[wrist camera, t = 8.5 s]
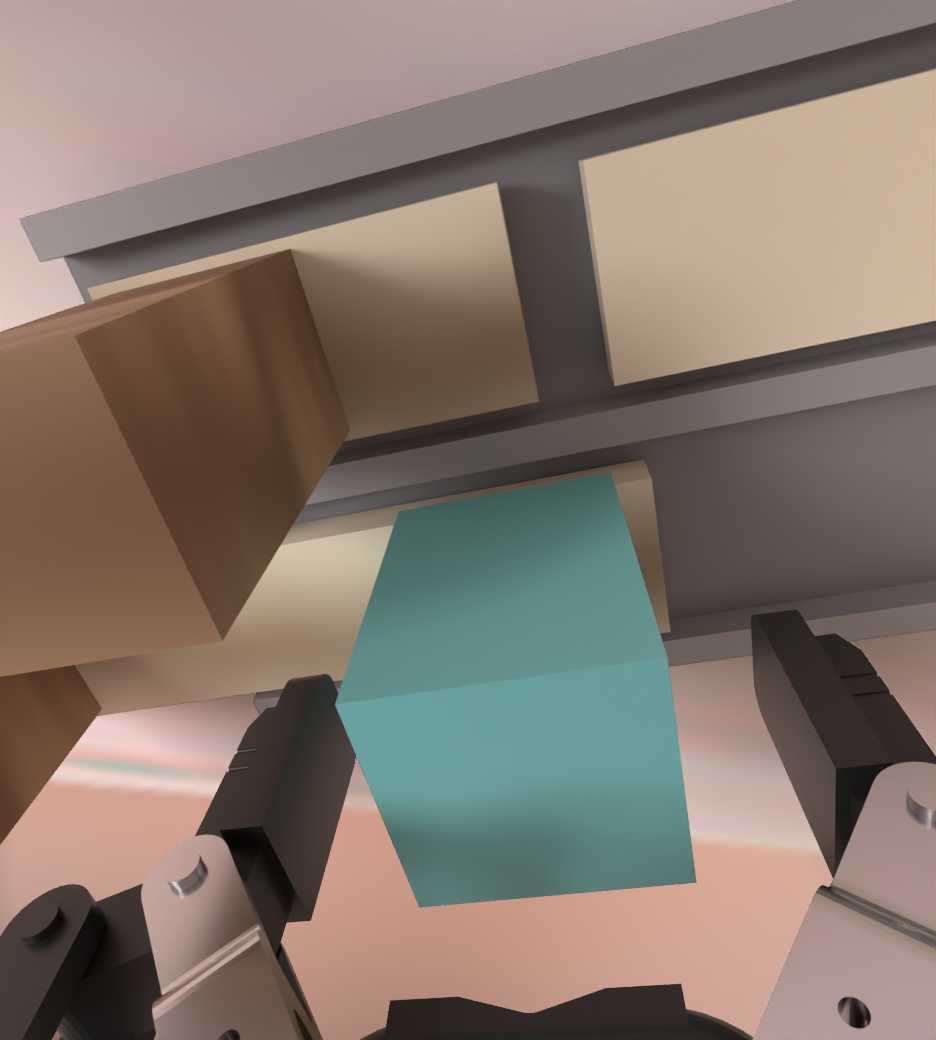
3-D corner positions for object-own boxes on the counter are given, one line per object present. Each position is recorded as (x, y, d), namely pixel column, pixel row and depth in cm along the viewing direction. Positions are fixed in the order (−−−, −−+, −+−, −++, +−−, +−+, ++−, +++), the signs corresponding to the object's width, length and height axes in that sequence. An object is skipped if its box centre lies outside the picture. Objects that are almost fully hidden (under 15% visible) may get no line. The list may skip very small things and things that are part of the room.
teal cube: (398, 511, 15) (334, 704, 10) (610, 472, 14) (667, 657, 9) (449, 673, 17) (419, 907, 12) (637, 646, 16) (696, 882, 11)
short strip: (113, 280, 14) (-291, 404, 7) (497, 180, 13) (476, 209, 6) (193, 458, 16) (-68, 701, 9) (537, 386, 15) (558, 602, 7)
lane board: (72, 212, 15) (2, 220, 13) (1190, -99, 11) (1337, -155, 9) (282, 679, 20) (257, 736, 18) (1068, 561, 17) (1142, 616, 15)
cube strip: (-80, 594, 18) (-459, 873, 11) (643, 459, 15) (755, 722, 8) (0, 708, 20) (-283, 1010, 13) (662, 607, 17) (768, 928, 10)
